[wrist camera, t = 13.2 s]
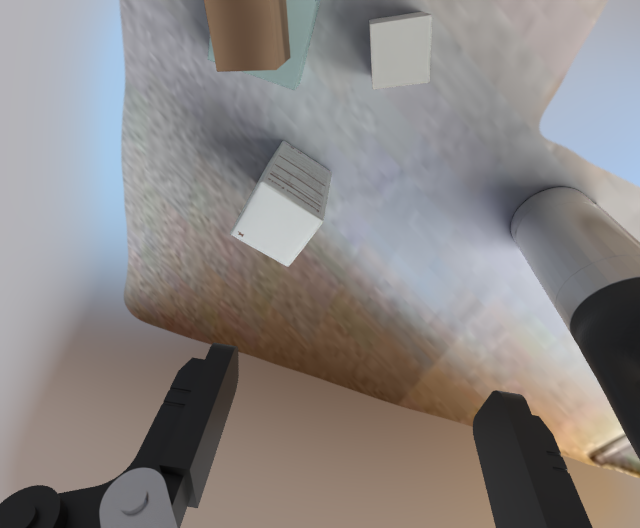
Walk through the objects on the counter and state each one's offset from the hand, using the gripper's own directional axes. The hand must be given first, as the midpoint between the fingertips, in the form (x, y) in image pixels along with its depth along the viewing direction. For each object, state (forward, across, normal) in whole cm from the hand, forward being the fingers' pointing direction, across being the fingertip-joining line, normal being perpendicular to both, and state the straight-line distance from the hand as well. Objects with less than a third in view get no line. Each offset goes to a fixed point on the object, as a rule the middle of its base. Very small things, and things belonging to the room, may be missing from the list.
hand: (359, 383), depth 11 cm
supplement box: (+36, +7, +10) cm, 38 cm away
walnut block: (+32, +11, -6) cm, 35 cm away
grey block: (+36, -2, -6) cm, 37 cm away
